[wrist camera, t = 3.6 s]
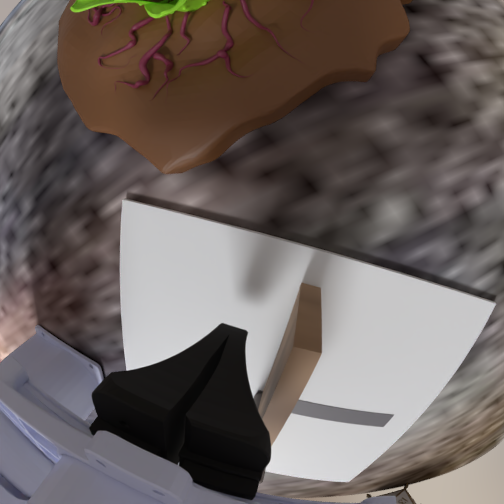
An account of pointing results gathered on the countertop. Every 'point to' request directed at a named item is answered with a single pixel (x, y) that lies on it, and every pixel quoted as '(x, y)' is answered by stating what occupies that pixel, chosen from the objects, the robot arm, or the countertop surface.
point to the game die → (400, 496)
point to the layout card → (275, 322)
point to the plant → (212, 65)
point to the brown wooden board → (293, 360)
